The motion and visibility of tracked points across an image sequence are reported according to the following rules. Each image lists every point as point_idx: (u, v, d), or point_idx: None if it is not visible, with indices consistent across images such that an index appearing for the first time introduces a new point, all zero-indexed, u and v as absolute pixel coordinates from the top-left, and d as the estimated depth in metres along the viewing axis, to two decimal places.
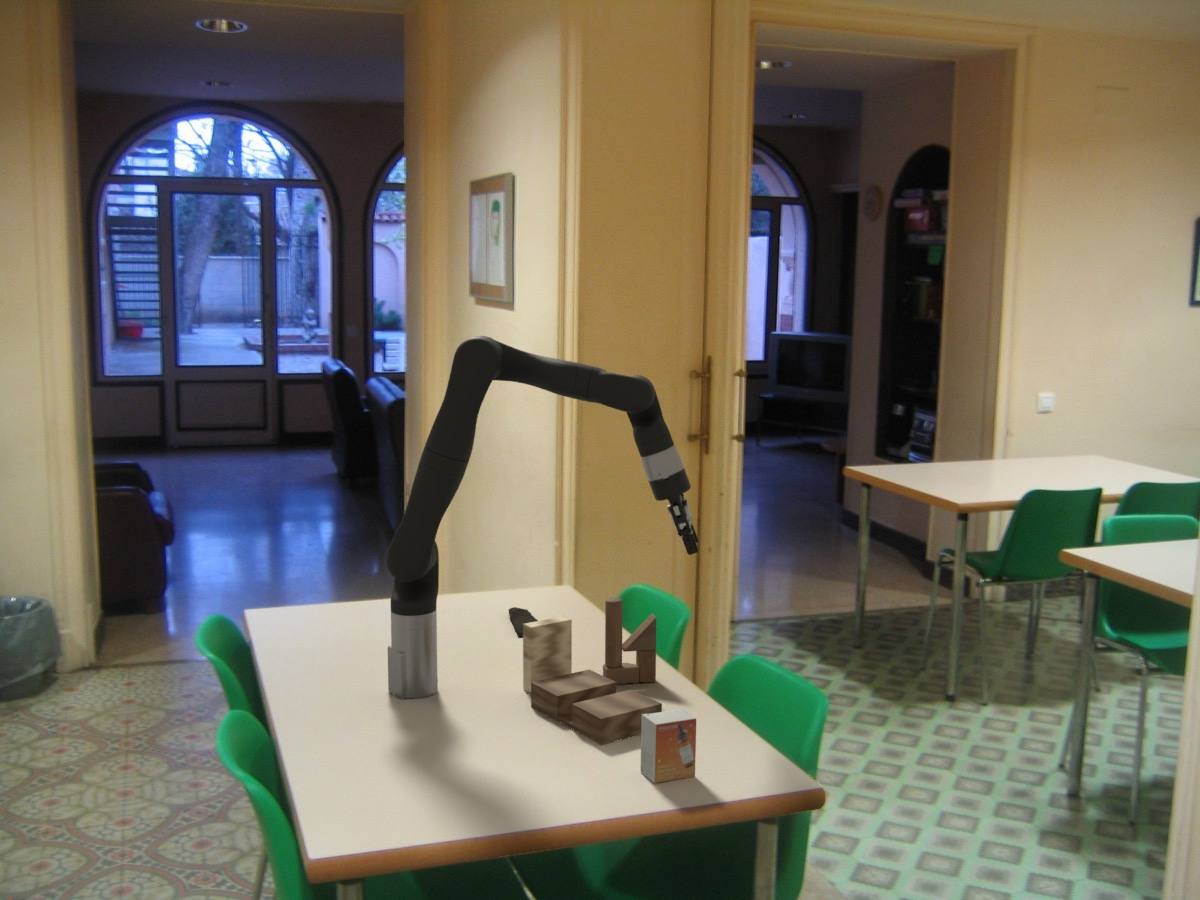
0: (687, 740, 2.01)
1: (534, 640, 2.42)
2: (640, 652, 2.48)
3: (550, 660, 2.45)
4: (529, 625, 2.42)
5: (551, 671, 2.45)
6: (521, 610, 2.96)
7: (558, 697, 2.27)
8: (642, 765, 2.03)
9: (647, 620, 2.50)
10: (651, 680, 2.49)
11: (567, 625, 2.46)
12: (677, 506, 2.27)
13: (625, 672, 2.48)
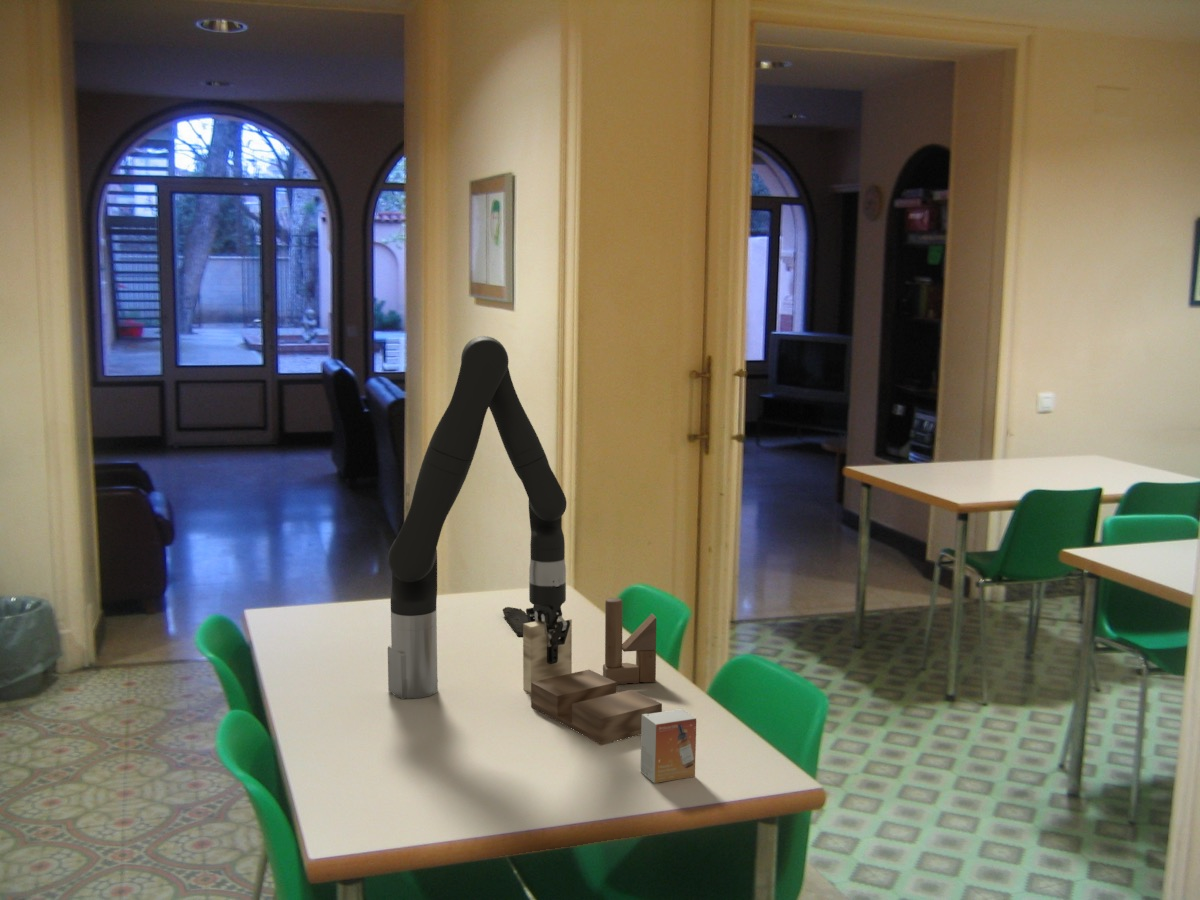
0: (687, 740, 2.01)
1: (534, 640, 2.42)
2: (640, 652, 2.48)
3: None
4: (529, 625, 2.42)
5: (551, 671, 2.45)
6: (516, 609, 2.97)
7: (558, 697, 2.27)
8: (642, 765, 2.03)
9: (647, 620, 2.50)
10: (651, 680, 2.49)
11: None
12: (566, 623, 2.40)
13: (625, 672, 2.48)
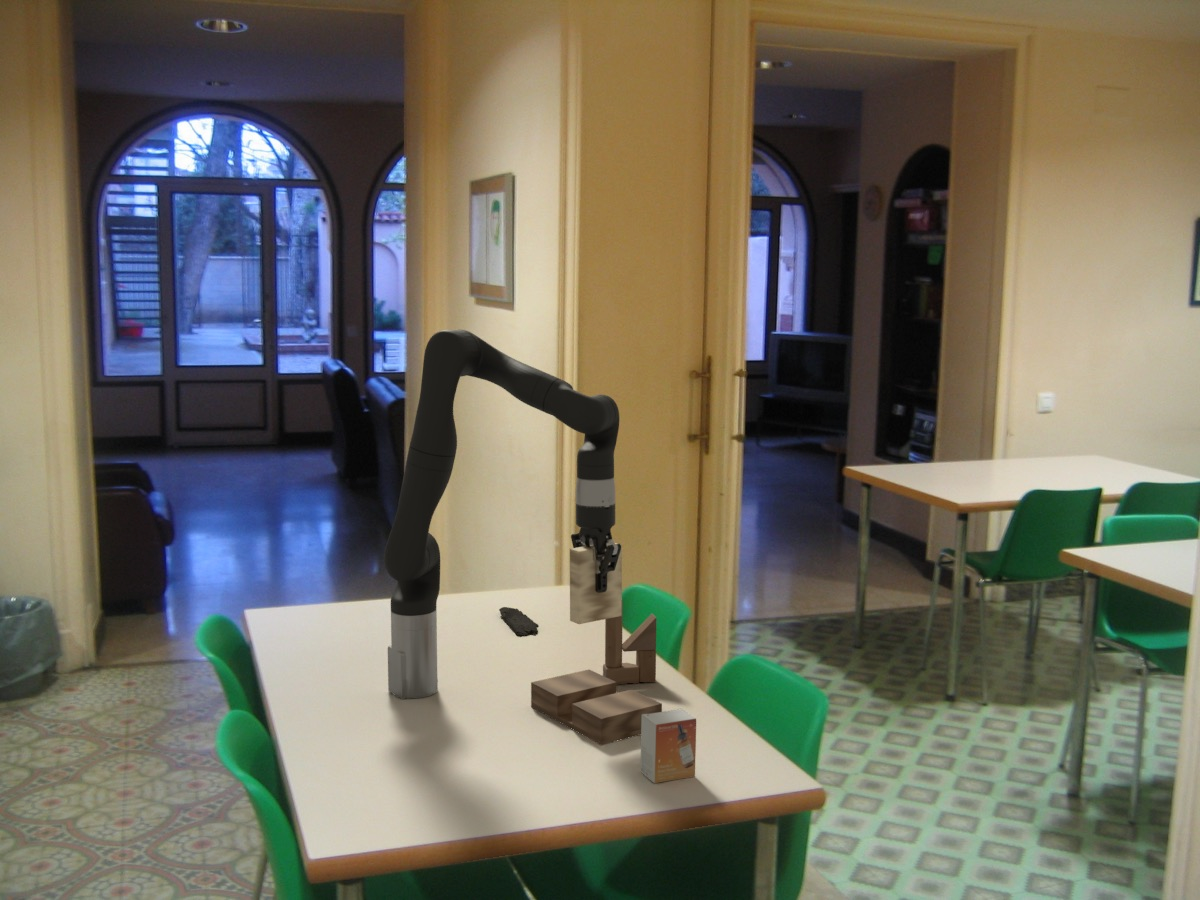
0: (687, 740, 2.01)
1: (582, 566, 2.22)
2: (640, 652, 2.48)
3: None
4: (577, 550, 2.22)
5: (600, 600, 2.25)
6: (513, 609, 2.97)
7: (558, 697, 2.27)
8: (642, 765, 2.03)
9: (647, 620, 2.50)
10: (651, 680, 2.49)
11: None
12: (617, 547, 2.20)
13: (625, 672, 2.48)
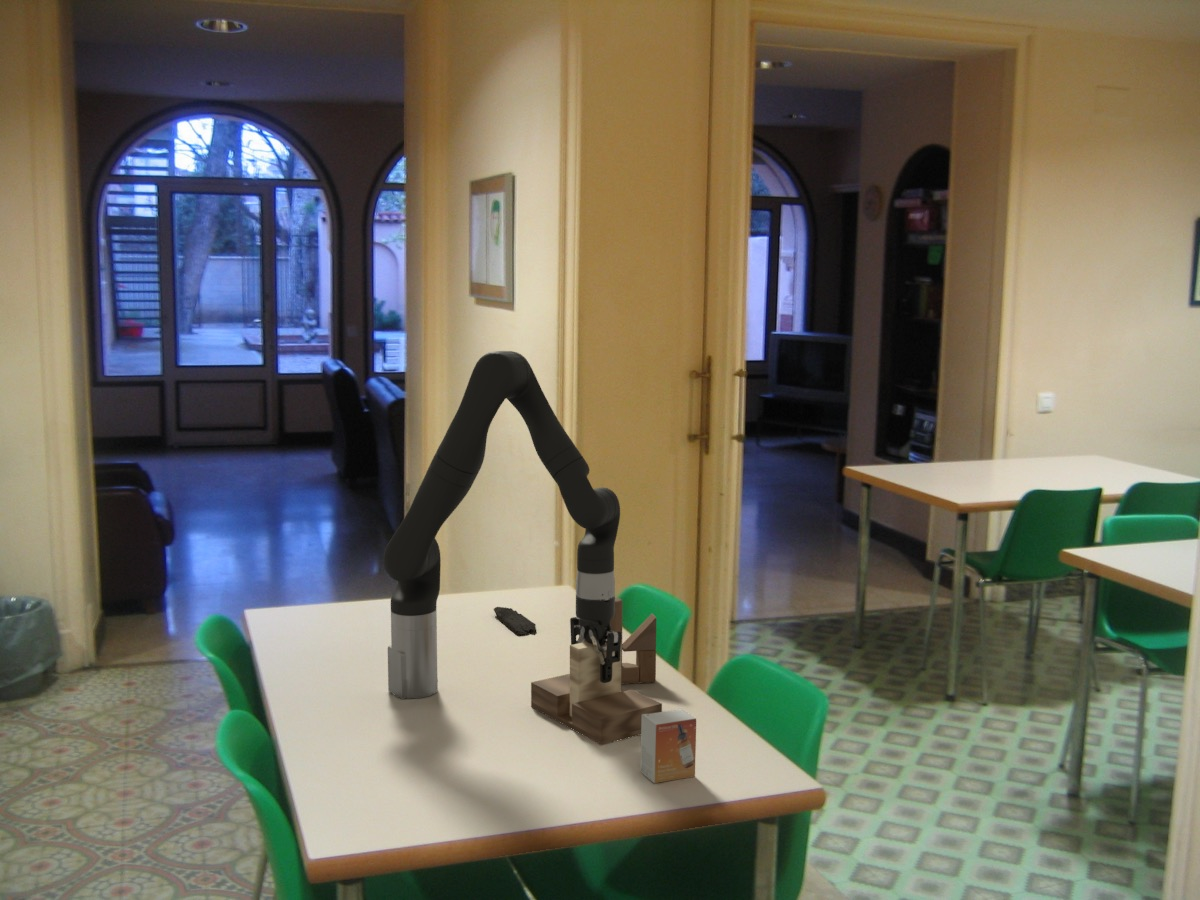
0: (687, 740, 2.01)
1: (582, 663, 2.24)
2: (640, 652, 2.48)
3: (598, 684, 2.27)
4: (577, 646, 2.25)
5: (599, 696, 2.28)
6: (508, 609, 2.97)
7: (558, 697, 2.27)
8: (642, 765, 2.03)
9: (647, 620, 2.50)
10: (651, 680, 2.49)
11: None
12: (617, 634, 2.22)
13: (625, 672, 2.48)
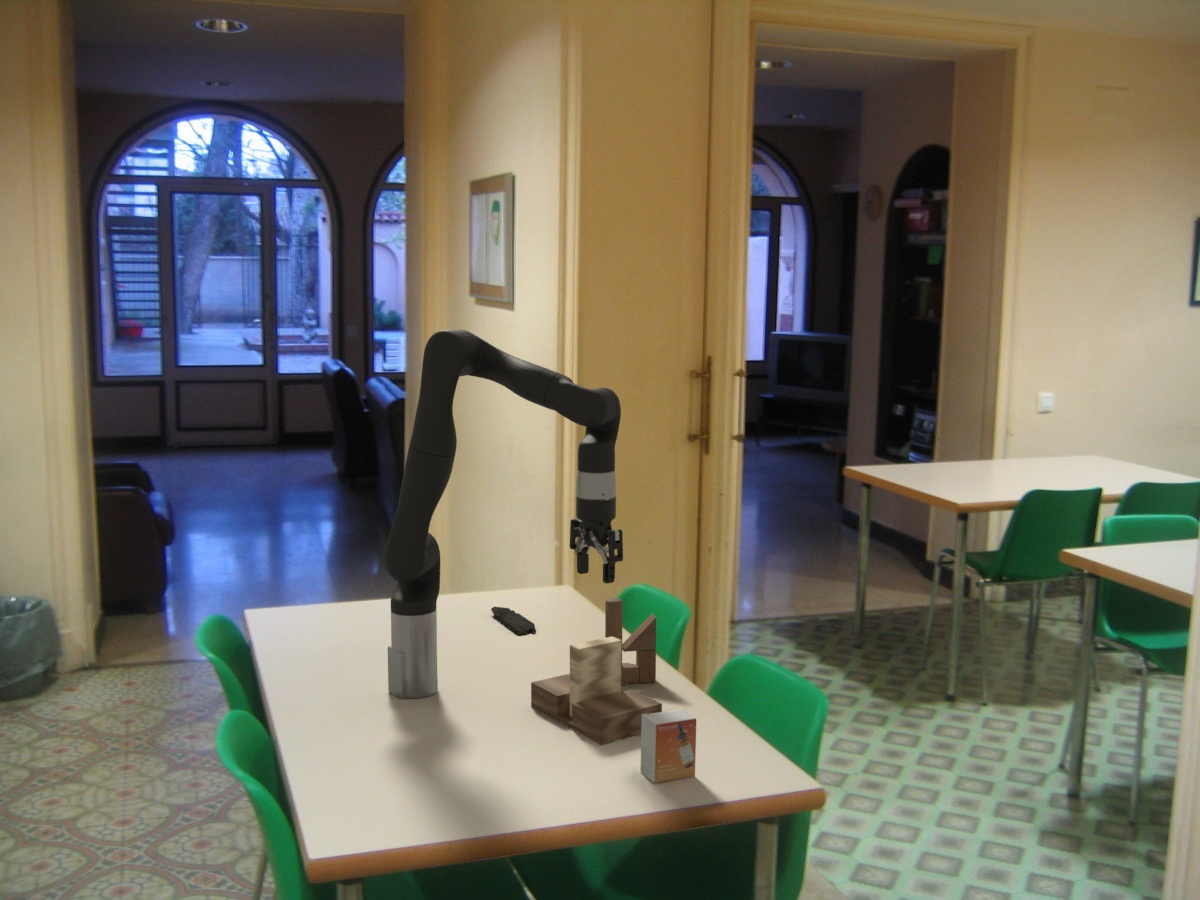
0: (687, 740, 2.01)
1: (582, 663, 2.24)
2: (640, 652, 2.48)
3: (598, 684, 2.27)
4: (577, 646, 2.25)
5: (599, 696, 2.28)
6: (505, 609, 2.97)
7: (558, 697, 2.27)
8: (642, 765, 2.03)
9: (647, 620, 2.50)
10: (651, 680, 2.49)
11: (617, 646, 2.29)
12: (618, 531, 2.19)
13: (625, 672, 2.48)
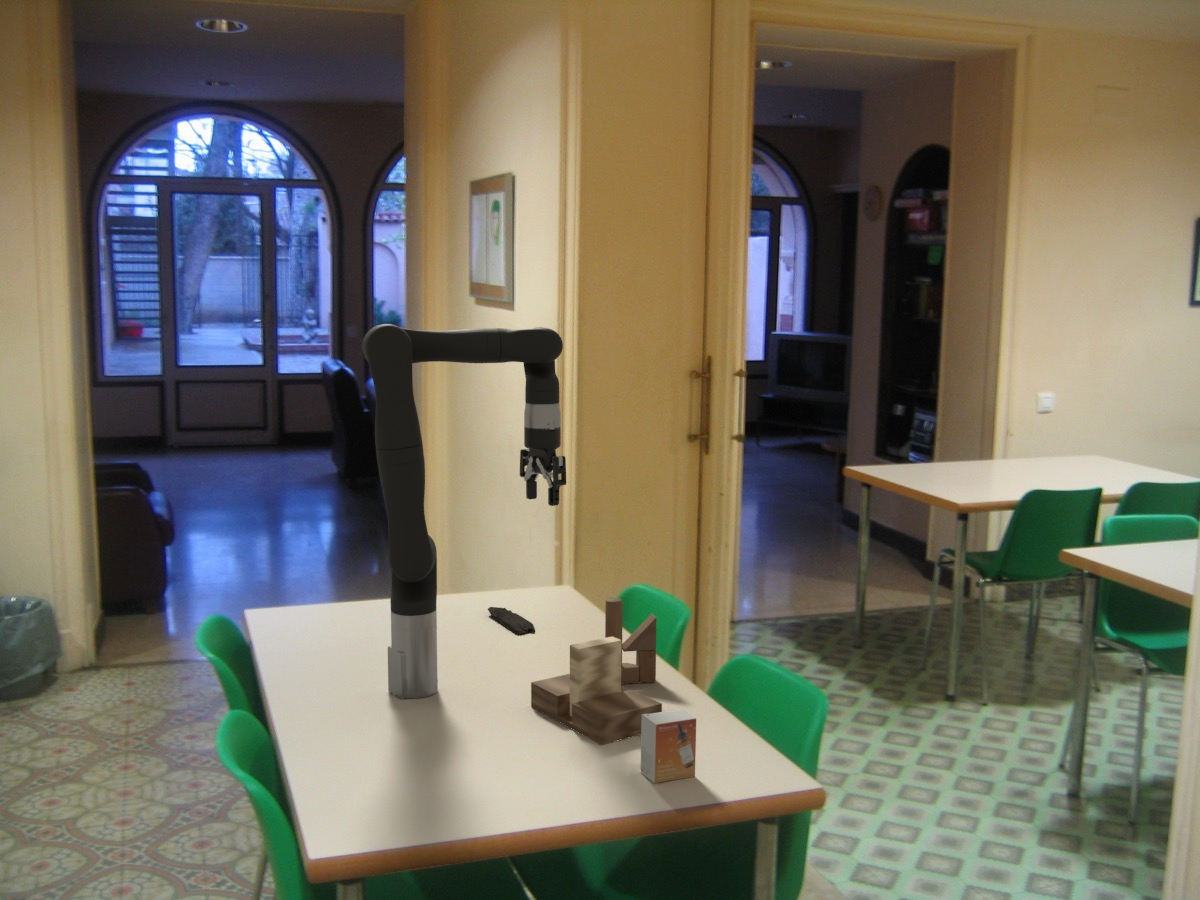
0: (687, 740, 2.01)
1: (582, 663, 2.24)
2: (640, 652, 2.48)
3: (598, 684, 2.27)
4: (577, 646, 2.25)
5: (599, 696, 2.28)
6: (502, 609, 2.97)
7: (558, 697, 2.27)
8: (642, 765, 2.03)
9: (647, 620, 2.50)
10: (651, 680, 2.49)
11: (617, 646, 2.29)
12: (561, 457, 2.40)
13: (625, 672, 2.48)
